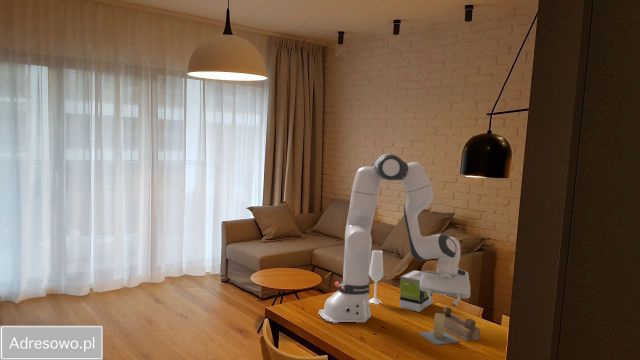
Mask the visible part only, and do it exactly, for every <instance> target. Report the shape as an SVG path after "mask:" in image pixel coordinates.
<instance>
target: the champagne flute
mask: <svg viewBox="0 0 640 360" xmlns="http://www.w3.org/2000/svg"><path fill="white" fill-rule="evenodd" d="M369 278H370V279H372V281H373V282H374V291H373V297H372V298H371V299H370V298H369V302H370V303H369V304H371V303H374V304H373V305H380V304H379V303H381V304H383V302H381V300H380V299H379V298H377V296H378V295H377V293H378V291H377V290H378V282H379V281H381V279H383V278H384V258H383V250H379V249H378V250H377V249H376V250H375V249H374V250H371V257H370V267H369Z"/></svg>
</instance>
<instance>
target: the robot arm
mask: <svg viewBox="0 0 640 360" xmlns="http://www.w3.org/2000/svg"><path fill="white" fill-rule="evenodd" d="M384 180H386V181H399V182H400V183H401V185H402V187H403V190H404V193H405V197H406V198H405V199H406V202H405V204H404V205H403V215H404V220H405V225H406V231H407V236H408V241H409V253H410V255H411V257H413V259H415V260H417V261H418V262H423V261H428V260H433V259H438V262H437V264H436V271H434V270H428V269H425V270H422V271H421V272H422V273H421V281H420V285H419V287H420V290H421V291H425V292H427V294H428V296H429V302H432V303H434V297H433V296H432V297H431V293H432V294H437V295H438V294H439V295H442V296H443V295H444V296H450V297H453V298H454V297H456V299H455V300H454V299H453V301H452V307H457V305H458V303H459V302H460V301H461V299H469V298H471V283H470V279H469V278H470V276H469V272H467V271H465V270H464V269H461V268H459V263H460V260H461V244H460V241H459V240H458V239H457V238H456V237H452V236H449V235H448V234H446V233H437V234H432V235H427V236H422V234H421V231H420V225H419V221H418V216H419V214H420V213H421V212H422V211H424V210H425V209H426V208H428V207H429V206H430V205H431V204H432V201H433V199H434V190H433V187H432V184H431V182H430V179H429V177H428V175H427V173H426V170H425V168H424V167H423V166H422V164H421V163H419V162H417V161H416V162H415V161H410V162H408V163H406V162H405V161H404V160H403V159H402V158H400V157H399V156H397V155H396V154H394V153H389V152H388V153H383V154H382V155H379V157H378V158H377V159H376V160H375V161H374V162H373V164H372V165H371V166H368V165H367V166H362V167H359V168H358V169H357V171H356V173H355V177H354V179H353V184H352V188H351V195H350V202H349V208H348V214H347V219H346V225H345V230H344V254H343V271H342V273H343V274H342V275H343V276H342V281H341V282H339V281H335V282H334V286H335V287H336V288H338V290H336V292H334V293H333V294H332V295H331V296H329V297H328V298H327V299H326V300H325V302H324V306H323V309H319V310H318V315H319V314H320V316H321V317H322V318H323V319H325V320H326V321H325V320H324V321H325V322H327V321H329V322H333V323H332V324H339V323H338V322H356V323H366V322H367V321H368V320H369V319H370V318H371V317H372V313H371V309H370V303H369V300H370V297H369V296H370V290H371V288H370V287H371V284H370V276H369V271H370V263H371V256H372V243H373V241H372V240H373V238H372V235H371V234H372V233H371V232H372V228H373V223H374V218H375V214H376V210H377V209H376V208H377V203H378V195H379V189H380V186H381V183H382V181H384ZM320 316H319V317H320ZM321 317H320V318H321ZM322 318H321V319H322ZM323 319H322V320H323ZM329 322H328V323H329Z"/></svg>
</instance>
